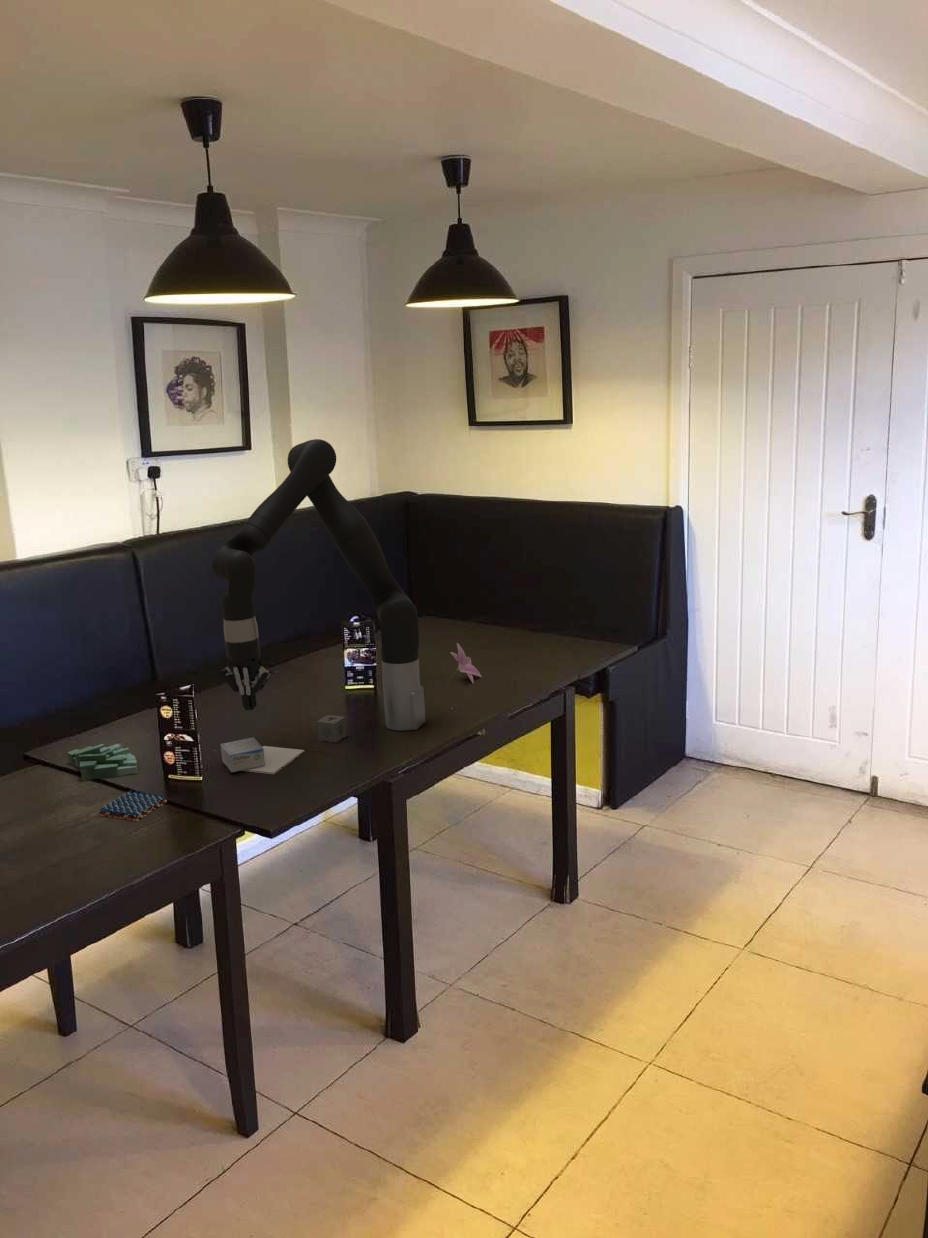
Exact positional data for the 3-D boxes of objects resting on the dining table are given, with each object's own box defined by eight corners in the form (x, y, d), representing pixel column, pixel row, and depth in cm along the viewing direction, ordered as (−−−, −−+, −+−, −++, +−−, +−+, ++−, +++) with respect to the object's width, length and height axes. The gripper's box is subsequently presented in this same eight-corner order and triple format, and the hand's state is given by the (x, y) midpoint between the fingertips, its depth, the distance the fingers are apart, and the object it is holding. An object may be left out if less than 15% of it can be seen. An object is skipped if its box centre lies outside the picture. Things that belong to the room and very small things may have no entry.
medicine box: (221, 761, 240) (231, 773, 232) (219, 743, 239) (229, 755, 231) (255, 754, 243) (265, 766, 235) (253, 736, 242) (263, 748, 234)
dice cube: (346, 736, 254) (345, 716, 253) (336, 743, 250) (334, 723, 248) (329, 734, 256) (327, 714, 255) (318, 741, 252) (316, 721, 250)
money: (52, 770, 241) (50, 750, 240) (115, 749, 253) (112, 730, 252) (98, 790, 229) (96, 769, 228) (162, 766, 241) (159, 747, 239)
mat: (304, 752, 244) (304, 750, 244) (273, 774, 232) (273, 772, 232) (264, 747, 248) (263, 745, 248) (231, 769, 236) (231, 767, 236)
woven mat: (96, 818, 214) (94, 809, 214) (129, 798, 224) (128, 789, 223) (137, 824, 210) (136, 815, 210) (169, 803, 220) (168, 794, 219)
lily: (454, 692, 287) (470, 663, 284) (428, 669, 293) (443, 641, 291) (480, 694, 296) (496, 666, 294) (454, 672, 303) (469, 644, 300)
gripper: (275, 633, 235) (283, 705, 239) (225, 631, 240) (234, 702, 244) (258, 642, 228) (266, 716, 232) (207, 640, 233) (216, 713, 237)
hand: (250, 709), depth 238 cm, fingers closed
